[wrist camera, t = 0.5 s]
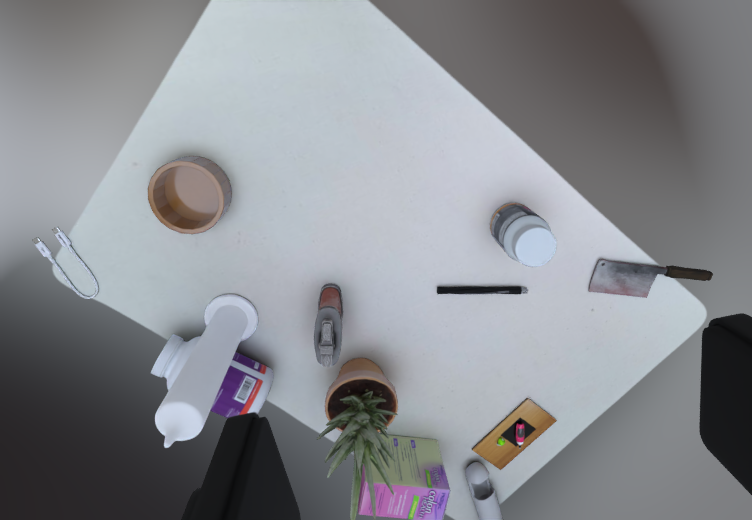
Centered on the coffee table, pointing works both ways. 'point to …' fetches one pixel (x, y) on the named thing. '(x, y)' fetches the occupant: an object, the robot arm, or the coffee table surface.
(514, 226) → the pill bottle
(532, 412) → the board
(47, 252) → the electronic cable
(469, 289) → the black pen
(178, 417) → the candle
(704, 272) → the cleaver
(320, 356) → the lighter
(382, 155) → the coffee table surface
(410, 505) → the box
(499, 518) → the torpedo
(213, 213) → the brown wooden bowl
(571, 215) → the coffee table surface
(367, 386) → the potted plant
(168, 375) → the pill bottle
